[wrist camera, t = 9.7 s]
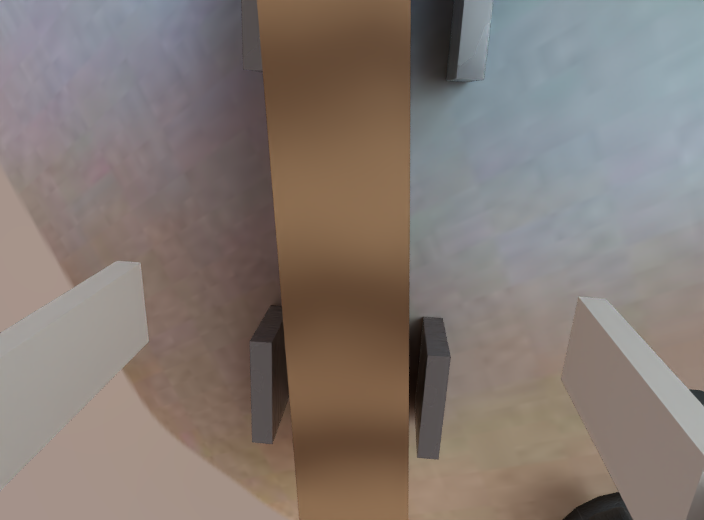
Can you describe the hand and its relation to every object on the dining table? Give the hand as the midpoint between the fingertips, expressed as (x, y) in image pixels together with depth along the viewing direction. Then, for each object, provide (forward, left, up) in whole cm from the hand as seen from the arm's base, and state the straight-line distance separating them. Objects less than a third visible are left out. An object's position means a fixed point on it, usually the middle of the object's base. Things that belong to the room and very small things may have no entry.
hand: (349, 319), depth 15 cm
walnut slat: (0, 0, -10) cm, 10 cm away
